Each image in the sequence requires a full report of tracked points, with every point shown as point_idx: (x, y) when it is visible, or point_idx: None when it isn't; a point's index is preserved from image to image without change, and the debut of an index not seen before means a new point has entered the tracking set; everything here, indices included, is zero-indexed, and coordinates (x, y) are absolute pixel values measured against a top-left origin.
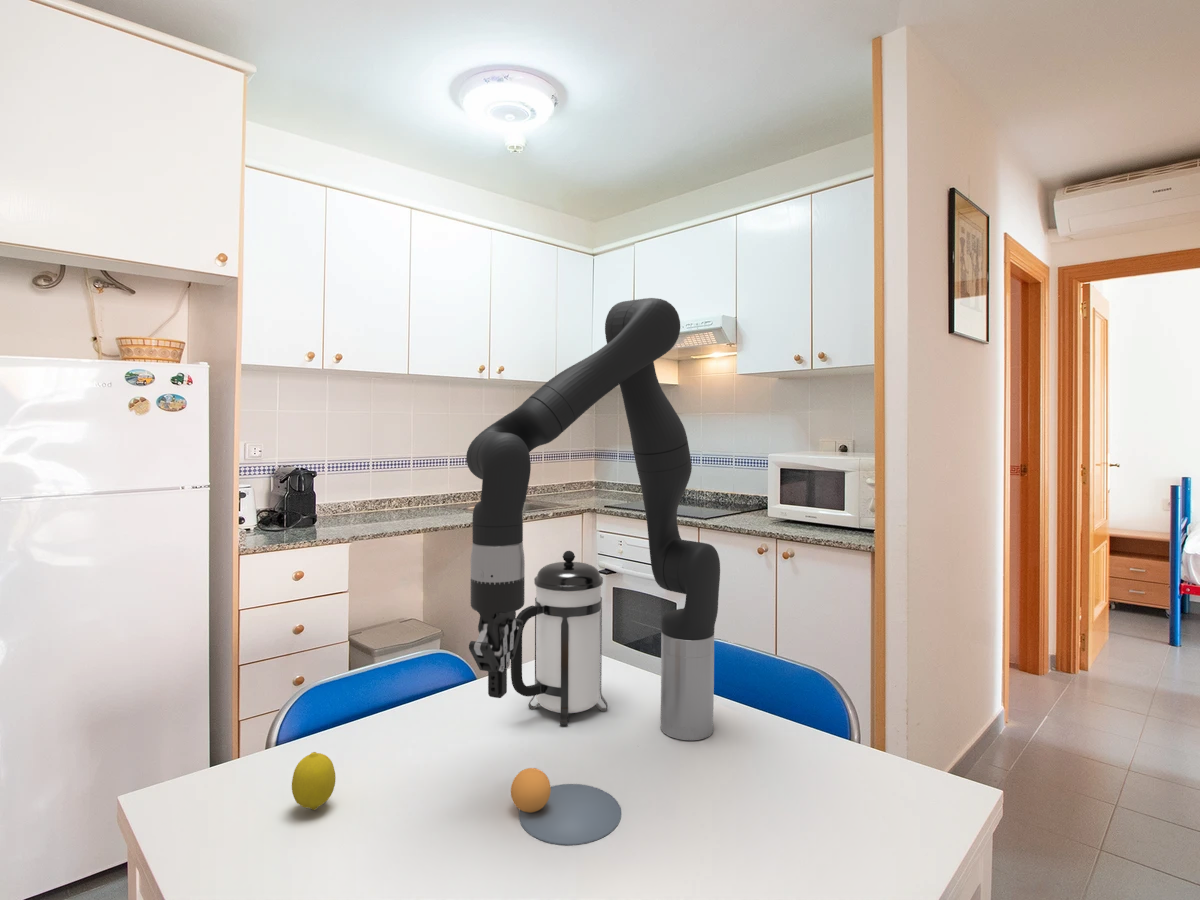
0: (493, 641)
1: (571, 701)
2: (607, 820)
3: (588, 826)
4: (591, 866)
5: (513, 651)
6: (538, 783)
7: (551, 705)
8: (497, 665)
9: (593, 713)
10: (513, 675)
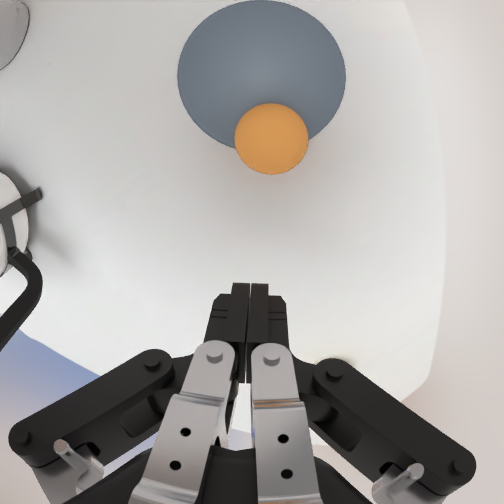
0: (361, 494)
1: (9, 198)
2: (267, 14)
3: (292, 36)
4: (372, 22)
5: (144, 376)
6: (290, 118)
7: (24, 226)
8: (332, 380)
9: (3, 171)
10: (32, 305)
